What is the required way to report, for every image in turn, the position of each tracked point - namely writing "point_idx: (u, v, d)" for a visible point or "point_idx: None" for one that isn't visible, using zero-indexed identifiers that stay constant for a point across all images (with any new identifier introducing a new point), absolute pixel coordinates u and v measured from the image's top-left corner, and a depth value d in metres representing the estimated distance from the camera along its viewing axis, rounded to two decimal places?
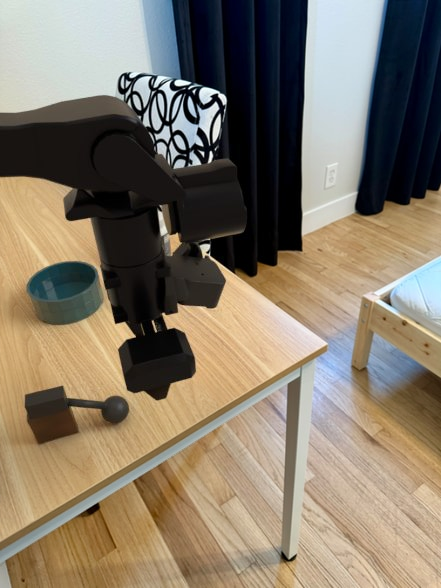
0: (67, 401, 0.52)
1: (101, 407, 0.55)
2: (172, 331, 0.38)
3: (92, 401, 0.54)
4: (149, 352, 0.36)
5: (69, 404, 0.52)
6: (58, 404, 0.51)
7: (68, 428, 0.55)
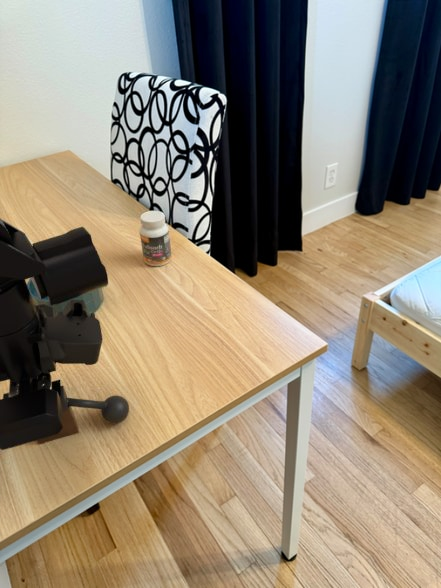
0: (67, 401, 0.52)
1: (101, 407, 0.55)
2: (41, 392, 0.43)
3: (92, 401, 0.54)
4: (15, 413, 0.41)
5: (69, 404, 0.52)
6: None
7: (68, 428, 0.55)
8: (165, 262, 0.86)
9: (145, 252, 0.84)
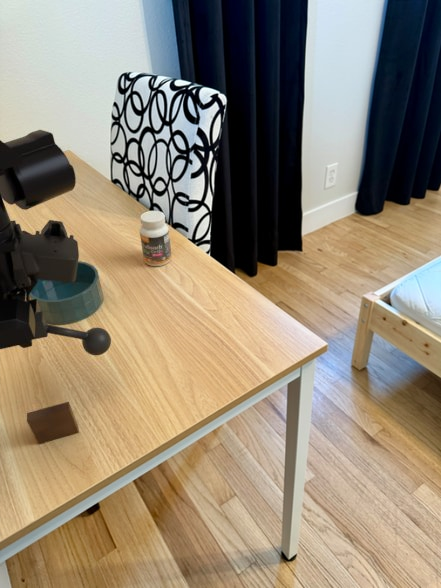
0: (46, 327, 0.52)
1: (82, 337, 0.54)
2: (13, 301, 0.42)
3: (72, 330, 0.53)
4: None
5: (48, 330, 0.52)
6: (36, 328, 0.50)
7: (68, 428, 0.55)
8: (165, 262, 0.86)
9: (145, 252, 0.84)
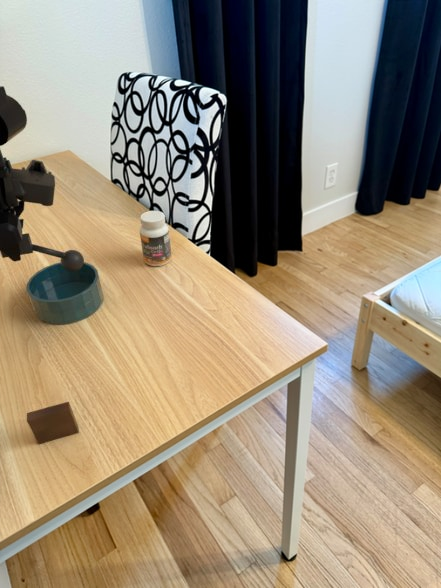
0: (32, 245, 0.66)
1: (60, 255, 0.69)
2: (6, 213, 0.57)
3: None
4: None
5: (33, 248, 0.67)
6: (24, 245, 0.65)
7: (68, 428, 0.55)
8: (165, 262, 0.86)
9: (145, 252, 0.84)
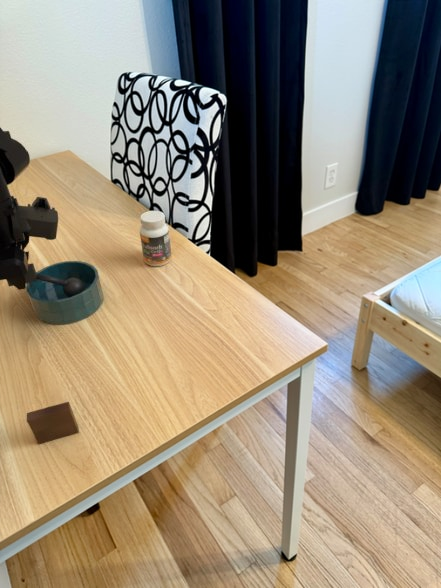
0: (36, 275, 0.72)
1: (62, 283, 0.74)
2: (13, 248, 0.62)
3: (55, 278, 0.73)
4: None
5: (37, 277, 0.72)
6: (29, 275, 0.70)
7: (68, 428, 0.55)
8: (165, 262, 0.86)
9: (145, 252, 0.84)
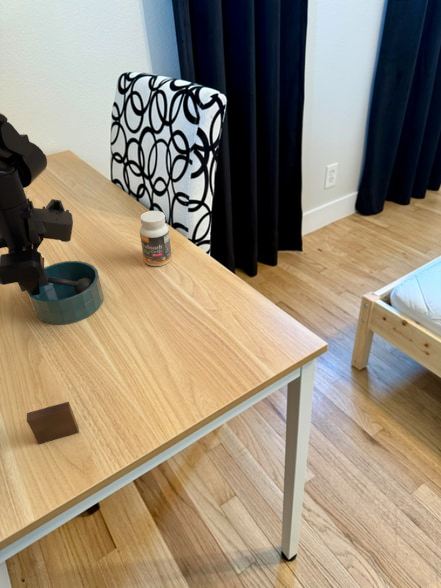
0: (47, 278, 0.73)
1: (73, 284, 0.75)
2: (30, 250, 0.63)
3: (66, 280, 0.75)
4: (12, 260, 0.61)
5: (49, 280, 0.73)
6: (40, 279, 0.72)
7: (68, 428, 0.55)
8: (165, 262, 0.86)
9: (145, 252, 0.84)
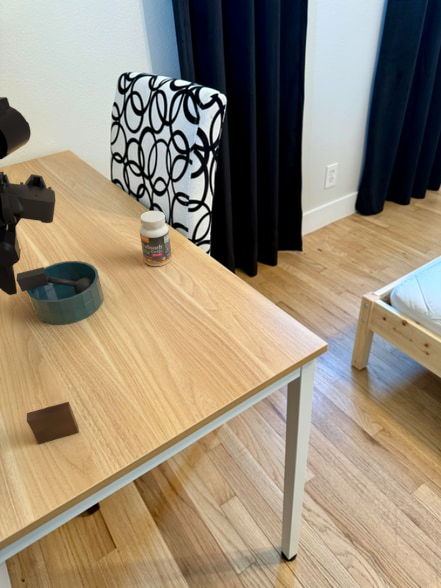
0: (47, 278, 0.73)
1: (73, 284, 0.75)
2: (2, 231, 0.53)
3: (66, 280, 0.75)
4: None
5: (49, 280, 0.73)
6: (40, 279, 0.72)
7: (68, 428, 0.55)
8: (165, 262, 0.86)
9: (145, 252, 0.84)
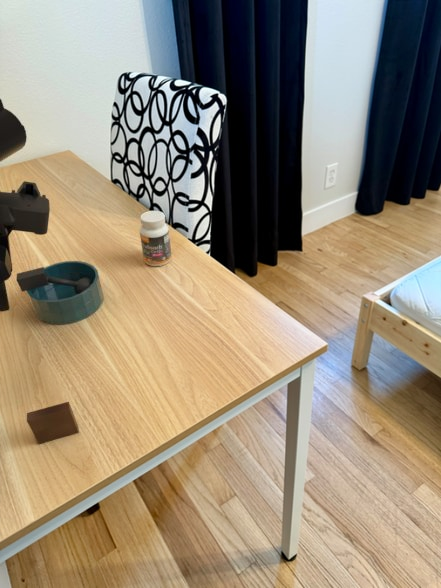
0: (47, 278, 0.73)
1: (73, 284, 0.75)
2: None
3: (66, 280, 0.75)
4: None
5: (49, 280, 0.73)
6: (40, 279, 0.72)
7: (68, 428, 0.55)
8: (165, 262, 0.86)
9: (145, 252, 0.84)
